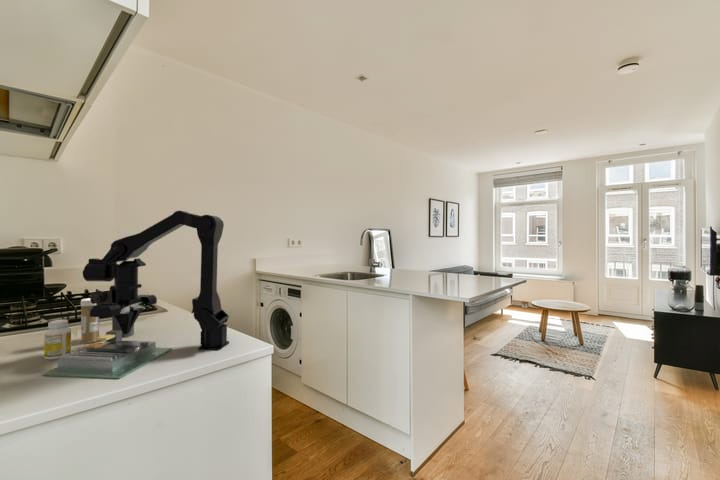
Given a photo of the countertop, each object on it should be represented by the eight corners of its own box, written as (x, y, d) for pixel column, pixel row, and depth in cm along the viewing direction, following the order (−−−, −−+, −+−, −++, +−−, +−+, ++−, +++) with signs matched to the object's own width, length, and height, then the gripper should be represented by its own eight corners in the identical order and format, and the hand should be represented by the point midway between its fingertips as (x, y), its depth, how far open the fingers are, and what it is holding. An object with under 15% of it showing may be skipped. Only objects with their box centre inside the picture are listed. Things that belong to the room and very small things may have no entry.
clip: (121, 340, 93) (121, 330, 93) (106, 346, 88) (106, 335, 88) (111, 339, 93) (111, 330, 93) (96, 345, 88) (96, 335, 88)
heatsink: (171, 350, 94) (171, 334, 94) (119, 378, 75) (119, 359, 75) (110, 347, 96) (110, 332, 96) (43, 375, 77) (43, 356, 77)
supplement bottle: (51, 361, 85) (51, 325, 85) (39, 358, 87) (39, 322, 87) (75, 354, 90) (75, 320, 90) (63, 351, 92) (64, 318, 92)
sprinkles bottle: (98, 342, 100) (98, 299, 100) (79, 345, 98) (79, 300, 97) (100, 338, 104) (100, 296, 104) (81, 340, 101) (82, 298, 101)
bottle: (108, 336, 106) (108, 291, 106) (126, 331, 111) (126, 288, 111) (119, 339, 104) (119, 292, 103) (138, 334, 109) (138, 289, 109)
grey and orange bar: (143, 348, 87) (143, 344, 87) (134, 353, 83) (134, 348, 83) (96, 346, 87) (96, 342, 87) (85, 350, 84) (85, 346, 84)
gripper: (125, 277, 106) (125, 324, 106) (70, 285, 87) (70, 343, 87) (157, 277, 105) (157, 325, 105) (109, 286, 86) (109, 344, 87)
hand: (126, 333), depth 96 cm, fingers closed
